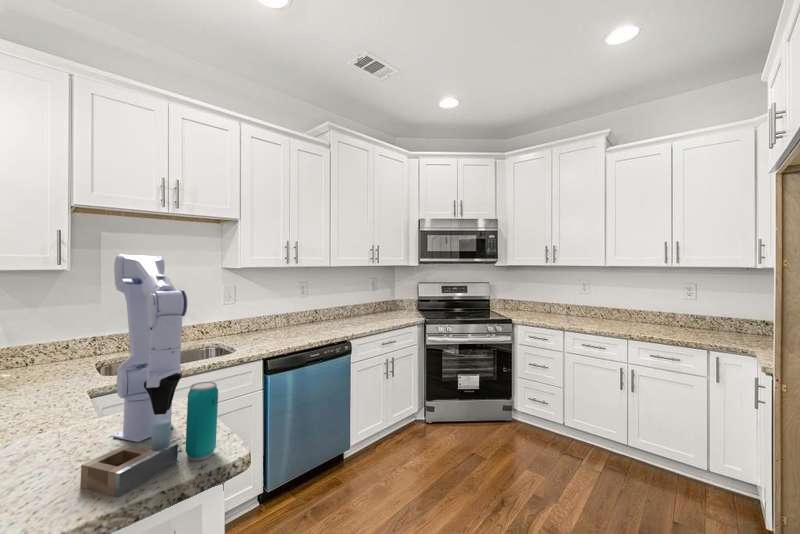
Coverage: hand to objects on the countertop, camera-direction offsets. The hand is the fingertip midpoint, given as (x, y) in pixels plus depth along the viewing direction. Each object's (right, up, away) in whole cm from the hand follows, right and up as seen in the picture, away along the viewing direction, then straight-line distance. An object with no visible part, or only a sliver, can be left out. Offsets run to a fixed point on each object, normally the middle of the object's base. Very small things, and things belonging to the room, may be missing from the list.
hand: (162, 411), depth 78 cm
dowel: (0, -9, 0) cm, 9 cm away
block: (-2, -9, -9) cm, 13 cm away
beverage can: (+8, -10, +1) cm, 13 cm away
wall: (+3, -9, -8) cm, 13 cm away
